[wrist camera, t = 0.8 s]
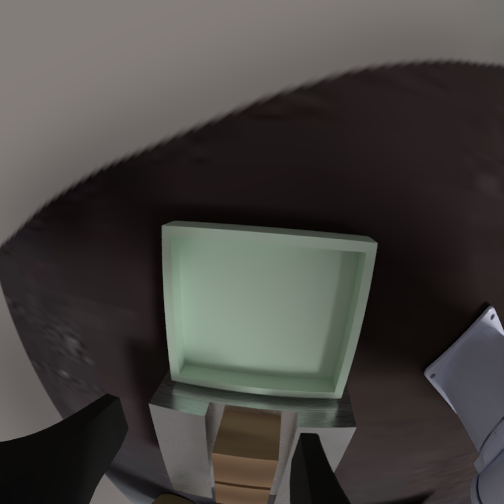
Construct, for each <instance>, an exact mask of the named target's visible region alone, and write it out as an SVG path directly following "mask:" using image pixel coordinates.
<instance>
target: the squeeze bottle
mask: <svg viewBox="0 0 504 504" xmlns="http://www.w3.org/2000/svg"><path fill="white" fill-rule="evenodd" d="M152 504H194V503H193V502H191V501H189V500H187V499H184V498H182V497H179V496H175V495H171V494H162V495H160V496H159V497H158V498H157V499H156V500H155V501H154V502H153V503H152Z"/></svg>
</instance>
